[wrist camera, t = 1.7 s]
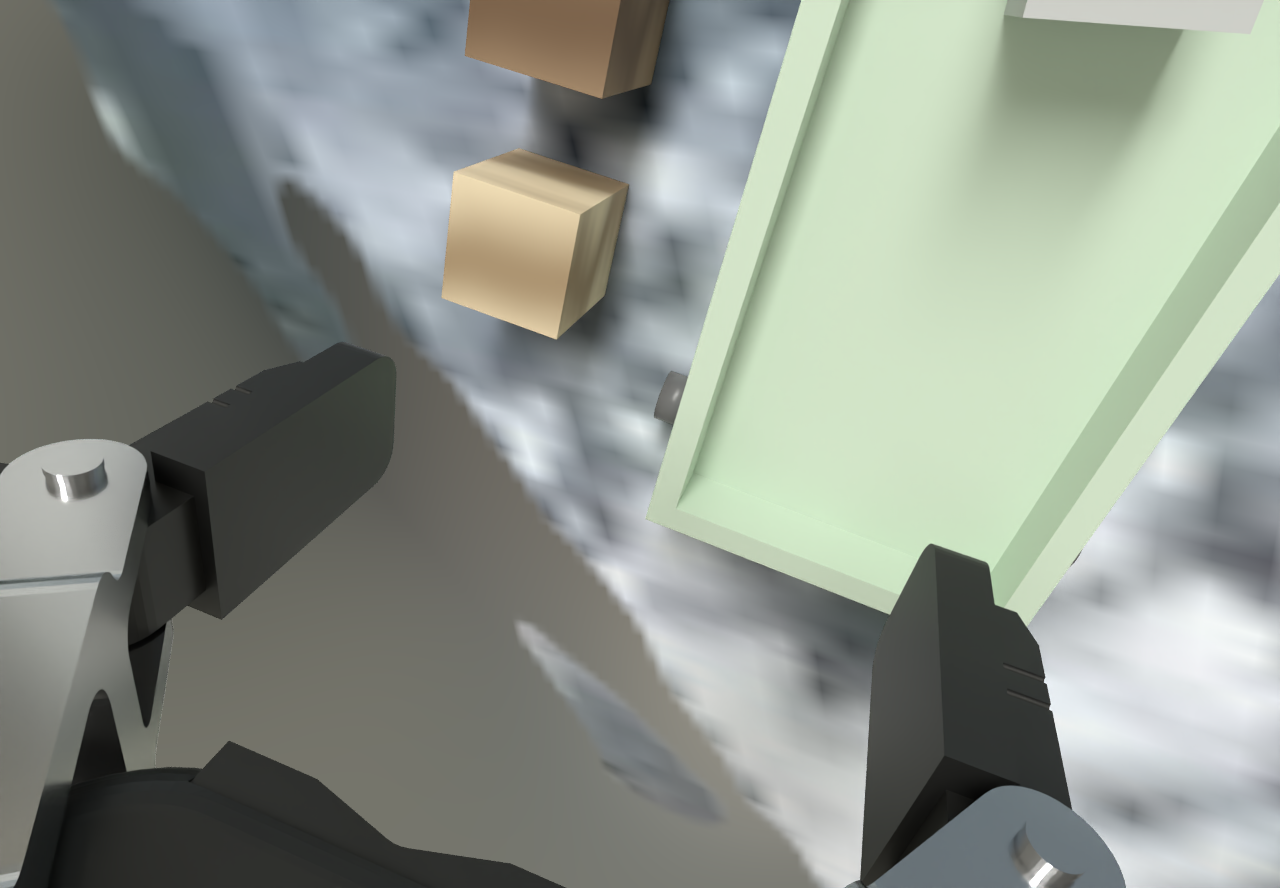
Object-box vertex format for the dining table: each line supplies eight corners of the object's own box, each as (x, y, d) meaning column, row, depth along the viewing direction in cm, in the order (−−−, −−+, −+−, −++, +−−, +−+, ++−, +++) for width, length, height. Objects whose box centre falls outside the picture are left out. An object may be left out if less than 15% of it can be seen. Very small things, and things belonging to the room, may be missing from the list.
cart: (899, -413, 20) (894, -511, 16) (1617, -267, 17) (1807, -341, 14) (650, 452, 34) (616, 507, 30) (1023, 593, 32) (1036, 672, 28)
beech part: (519, 148, 30) (453, 171, 26) (629, 184, 29) (580, 214, 25) (504, 259, 32) (441, 297, 28) (605, 295, 31) (556, 339, 27)
